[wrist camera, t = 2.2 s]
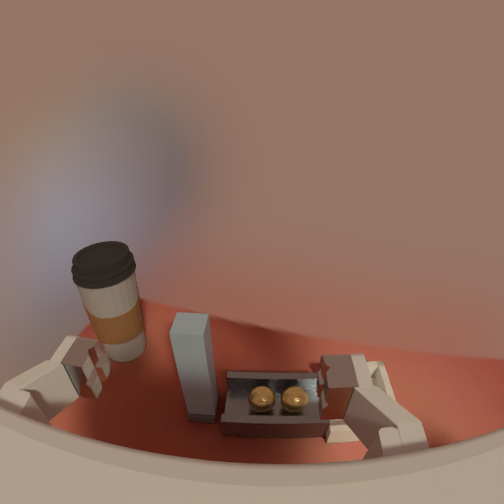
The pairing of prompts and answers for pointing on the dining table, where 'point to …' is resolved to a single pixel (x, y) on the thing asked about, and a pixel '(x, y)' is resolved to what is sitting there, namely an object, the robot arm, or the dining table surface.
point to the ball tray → (338, 427)
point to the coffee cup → (111, 297)
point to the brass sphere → (261, 399)
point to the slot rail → (276, 419)
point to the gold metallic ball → (294, 399)
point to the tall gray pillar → (195, 365)
